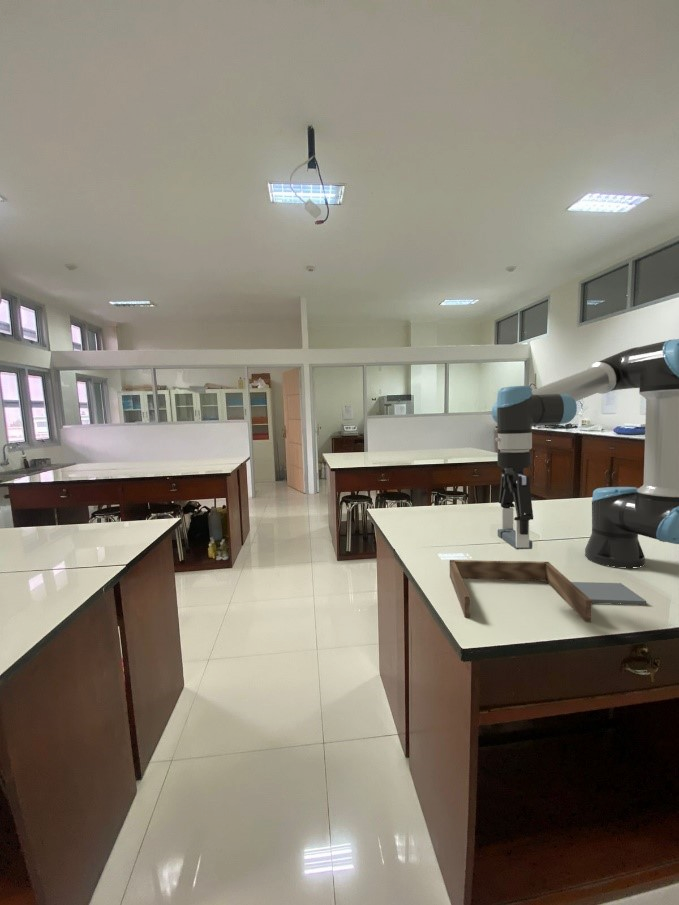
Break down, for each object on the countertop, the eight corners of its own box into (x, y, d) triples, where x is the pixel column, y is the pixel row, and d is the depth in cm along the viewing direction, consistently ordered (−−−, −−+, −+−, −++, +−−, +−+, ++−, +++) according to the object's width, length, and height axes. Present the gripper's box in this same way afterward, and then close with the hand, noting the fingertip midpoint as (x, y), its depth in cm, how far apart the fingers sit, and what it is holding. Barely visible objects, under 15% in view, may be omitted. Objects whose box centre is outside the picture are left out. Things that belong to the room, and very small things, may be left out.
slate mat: (620, 586, 98) (621, 583, 98) (646, 605, 88) (646, 601, 88) (564, 585, 100) (564, 581, 100) (582, 603, 90) (582, 599, 90)
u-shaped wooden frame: (548, 578, 105) (548, 561, 104) (591, 622, 82) (591, 600, 81) (449, 576, 108) (449, 560, 108) (464, 617, 86) (464, 596, 85)
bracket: (516, 549, 86) (516, 541, 86) (497, 536, 97) (497, 528, 97) (532, 549, 86) (532, 541, 86) (512, 535, 97) (512, 528, 97)
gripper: (486, 447, 102) (487, 526, 103) (513, 455, 79) (513, 555, 81) (515, 447, 101) (515, 526, 102) (550, 454, 78) (550, 556, 80)
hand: (514, 539), depth 92 cm, fingers closed on bracket, 11 cm apart
